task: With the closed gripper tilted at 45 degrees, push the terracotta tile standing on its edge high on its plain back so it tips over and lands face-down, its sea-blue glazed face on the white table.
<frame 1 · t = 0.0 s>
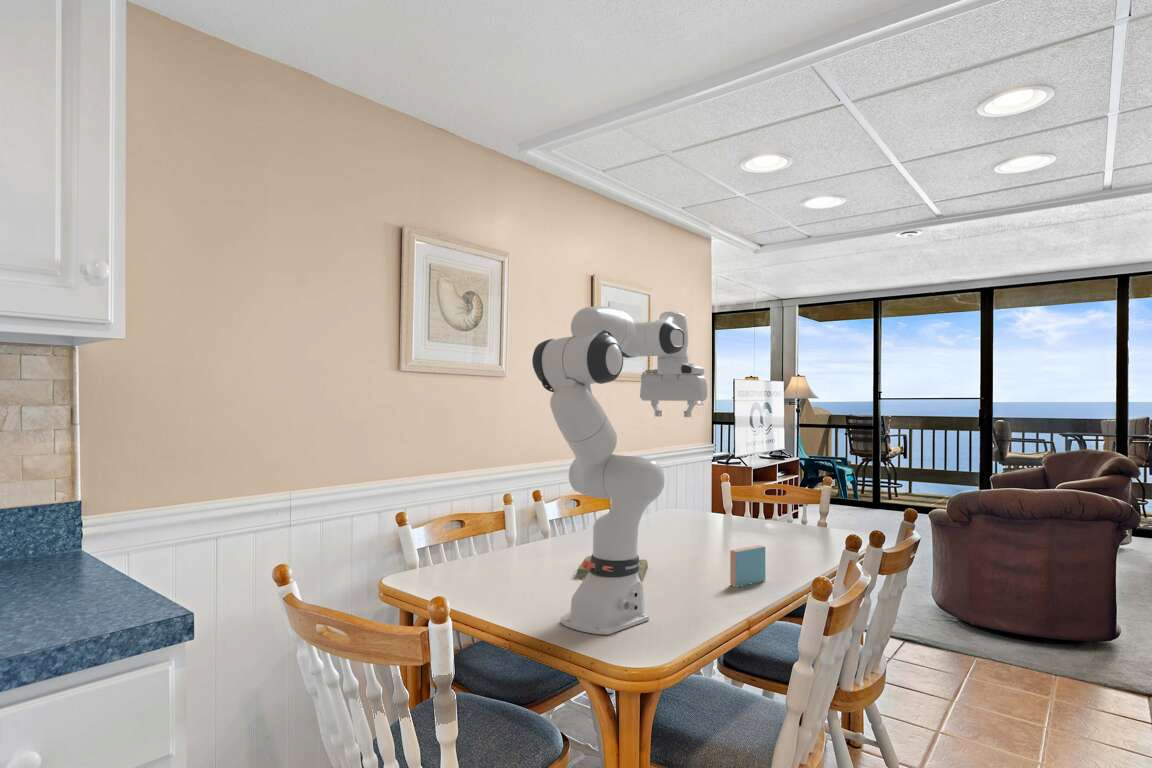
hand: (672, 416, 183), 48 cm above the table, tool pointing down, fingers open, 8 cm apart
glazed tile: (748, 583, 183), on the table
decorative tile: (612, 575, 193), on the table
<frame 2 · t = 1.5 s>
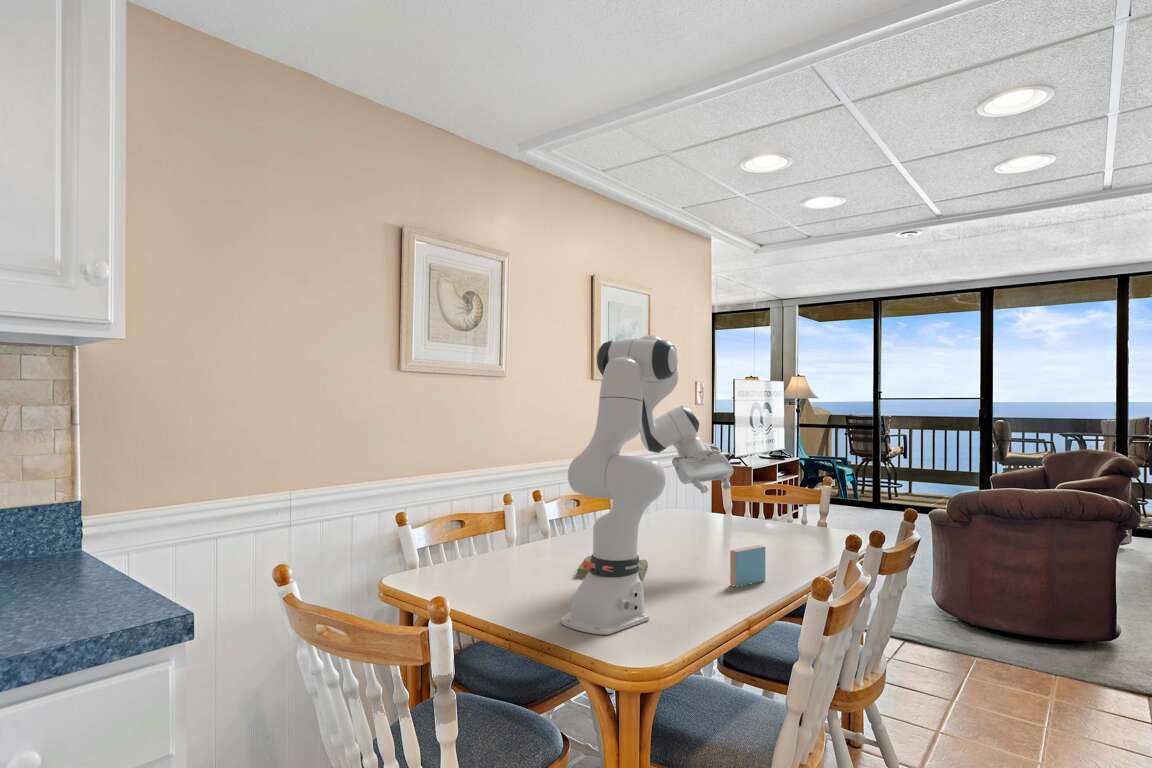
hand: (717, 490, 194), 25 cm above the table, tool tilted 45°, fingers open, 8 cm apart
nothing on the table moved.
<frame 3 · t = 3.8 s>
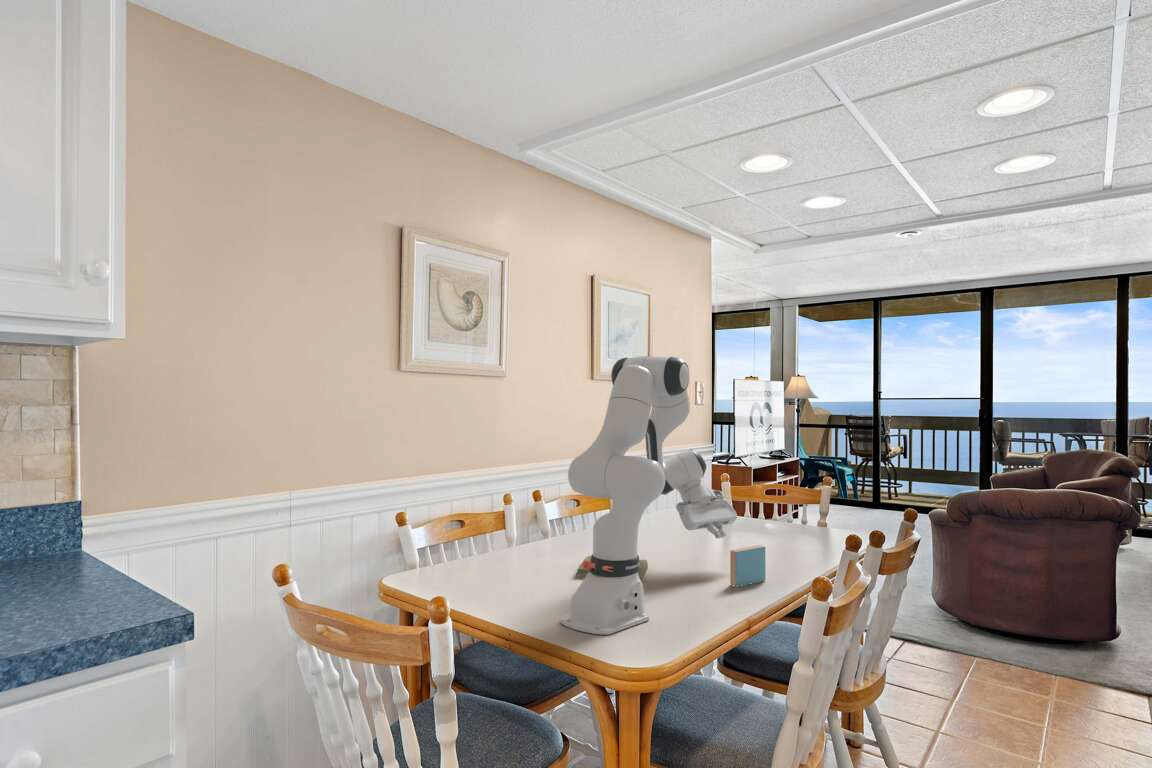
hand: (721, 537, 192), 11 cm above the table, tool tilted 45°, fingers closed
nothing on the table moved.
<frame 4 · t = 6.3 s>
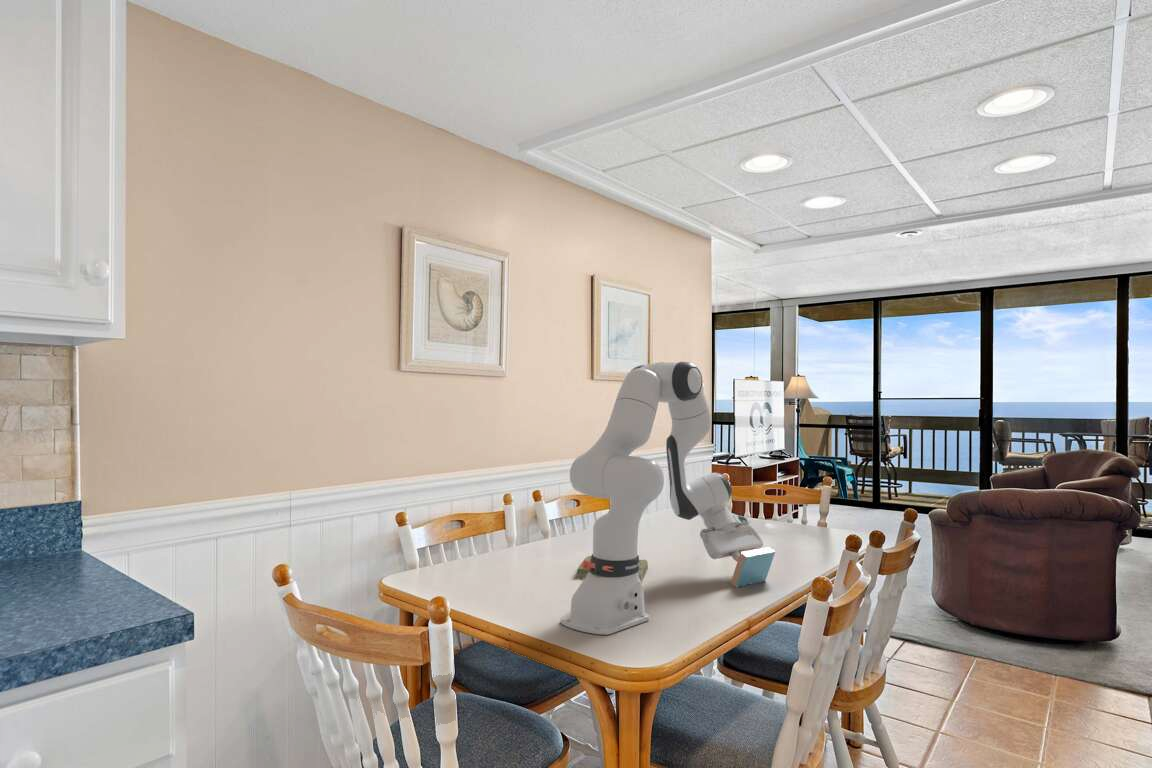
hand: (747, 566, 183), 5 cm above the table, tool tilted 45°, fingers closed
glazed tile: (748, 581, 183), on the table, tilted 21°
everything else where it was.
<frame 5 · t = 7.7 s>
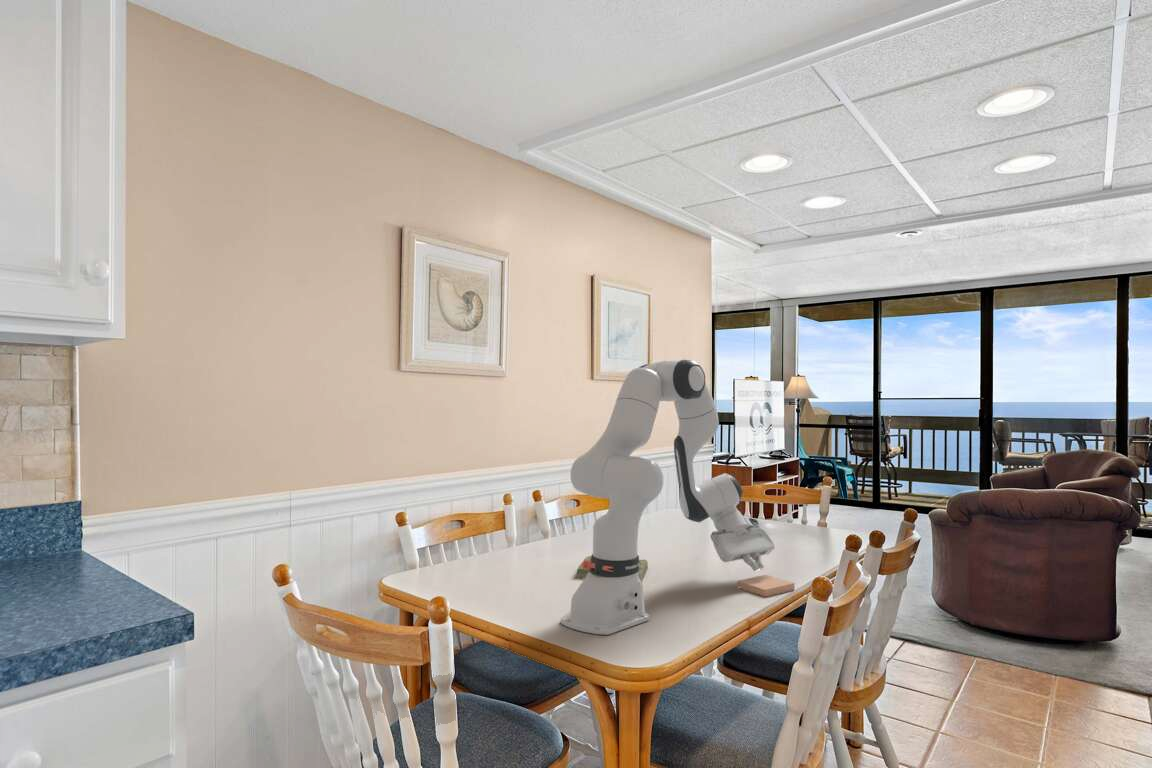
hand: (759, 569, 180), 5 cm above the table, tool tilted 45°, fingers closed
glazed tile: (751, 581, 182), point 1 cm above the table, tilted 90°
everything else where it was.
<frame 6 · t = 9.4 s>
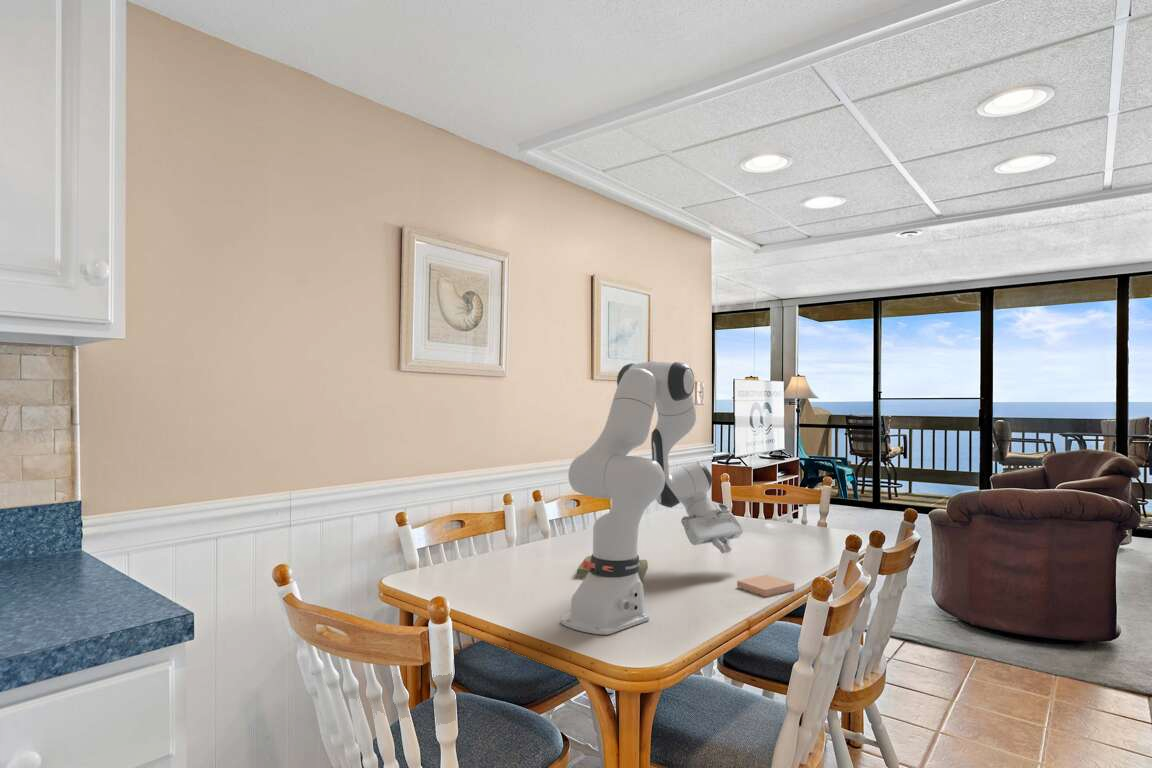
hand: (727, 551, 190), 7 cm above the table, tool tilted 45°, fingers closed
nothing on the table moved.
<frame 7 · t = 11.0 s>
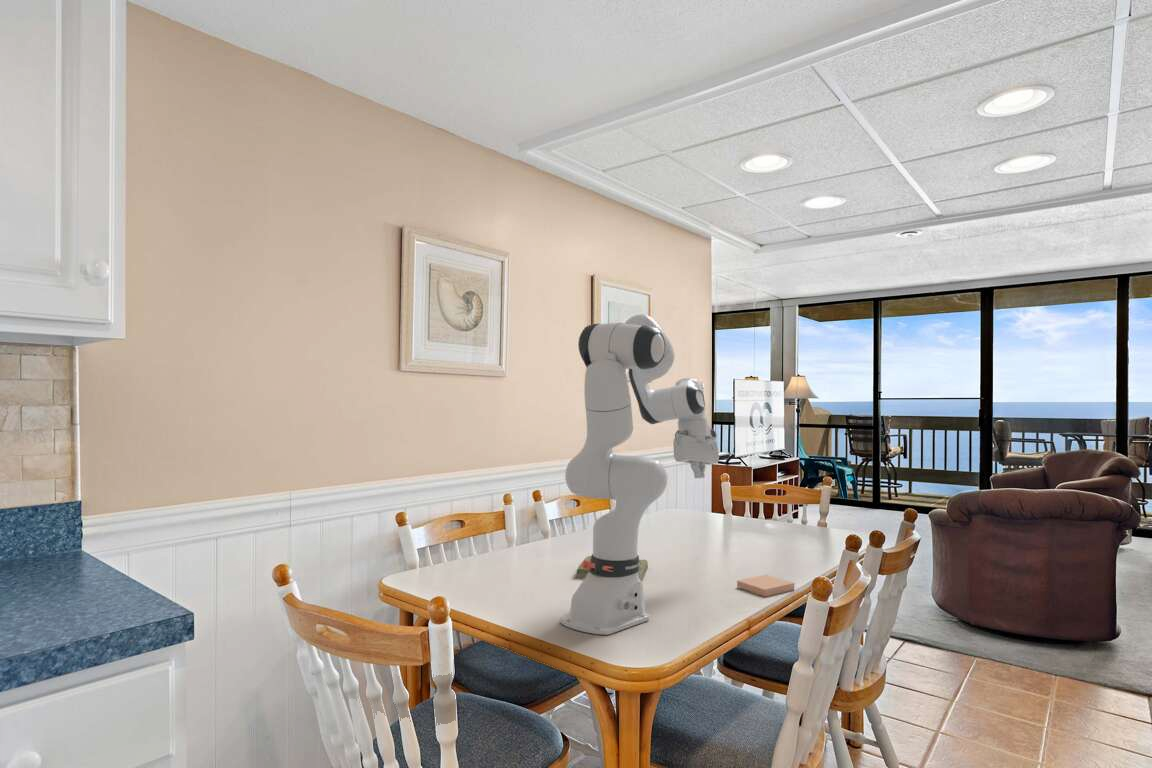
hand: (699, 478, 188), 30 cm above the table, tool pointing down, fingers closed
nothing on the table moved.
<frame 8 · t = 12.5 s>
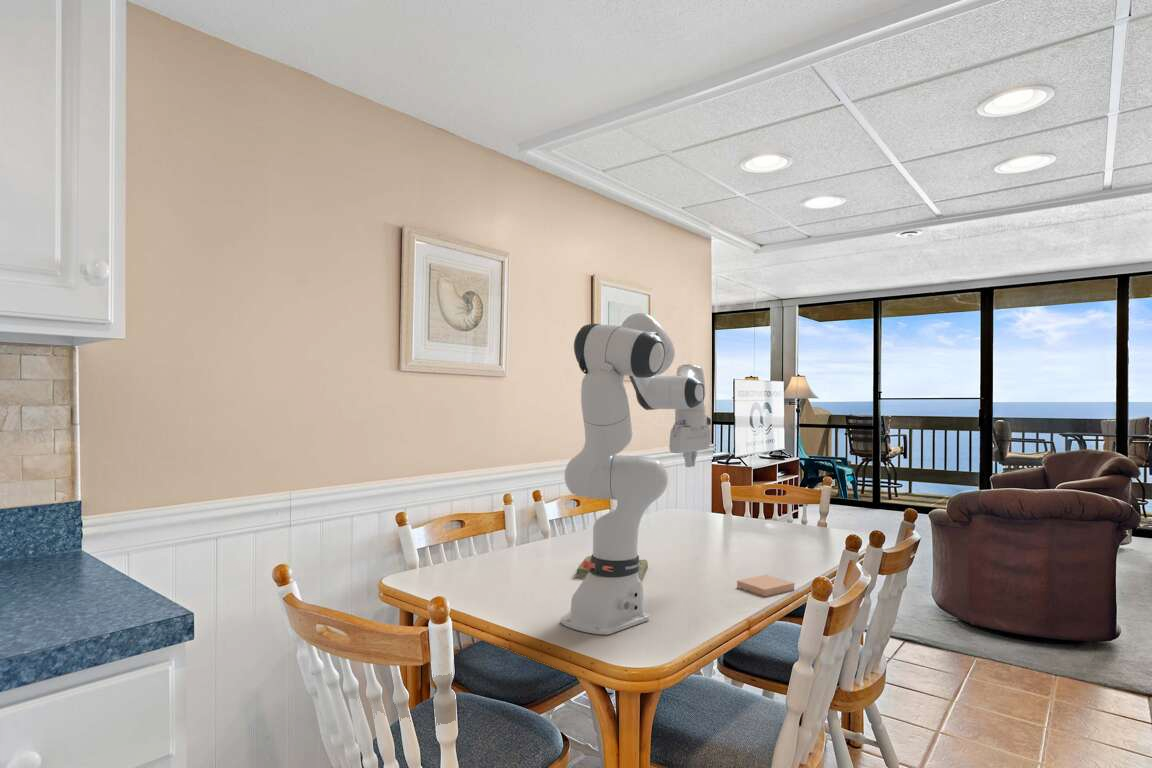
hand: (690, 466, 187), 33 cm above the table, tool pointing down, fingers closed
nothing on the table moved.
at the end: glazed tile tilted 90°; glazed tile moved 1.5 cm from its start; the gripper is holding nothing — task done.
